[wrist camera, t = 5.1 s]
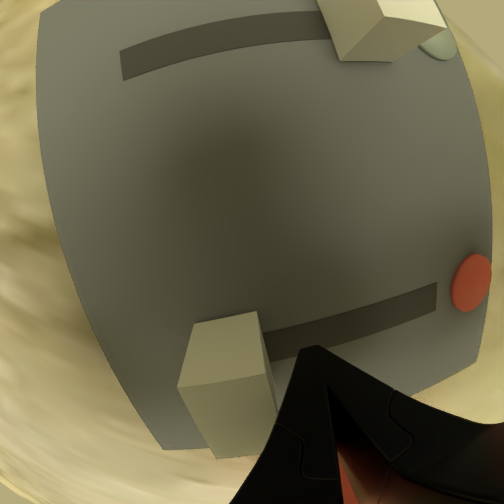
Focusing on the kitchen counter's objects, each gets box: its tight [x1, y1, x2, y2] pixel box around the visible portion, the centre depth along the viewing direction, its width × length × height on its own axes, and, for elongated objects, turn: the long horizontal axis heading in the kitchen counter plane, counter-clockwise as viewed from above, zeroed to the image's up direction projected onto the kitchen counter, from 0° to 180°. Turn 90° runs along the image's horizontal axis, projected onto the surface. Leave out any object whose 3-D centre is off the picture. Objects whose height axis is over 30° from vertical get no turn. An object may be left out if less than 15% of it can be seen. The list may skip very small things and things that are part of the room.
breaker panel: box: [36, 0, 492, 450], centre depth 9 cm, size 16×20×3 cm
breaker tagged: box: [177, 311, 279, 459], centre depth 8 cm, size 2×3×3 cm, turn 13°
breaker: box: [316, 0, 447, 62], centre depth 5 cm, size 2×3×3 cm, turn 13°
